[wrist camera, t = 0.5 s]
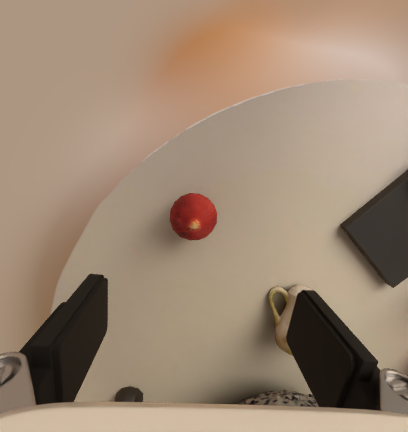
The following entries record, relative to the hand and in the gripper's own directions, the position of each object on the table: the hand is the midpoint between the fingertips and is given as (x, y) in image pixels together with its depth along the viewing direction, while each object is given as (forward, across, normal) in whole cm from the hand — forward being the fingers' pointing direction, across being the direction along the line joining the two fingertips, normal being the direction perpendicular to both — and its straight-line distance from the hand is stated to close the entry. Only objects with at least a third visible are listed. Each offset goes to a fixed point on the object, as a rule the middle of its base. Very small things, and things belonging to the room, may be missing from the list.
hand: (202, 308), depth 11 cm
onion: (+21, 0, 0) cm, 21 cm away
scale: (+21, -32, -1) cm, 39 cm away
